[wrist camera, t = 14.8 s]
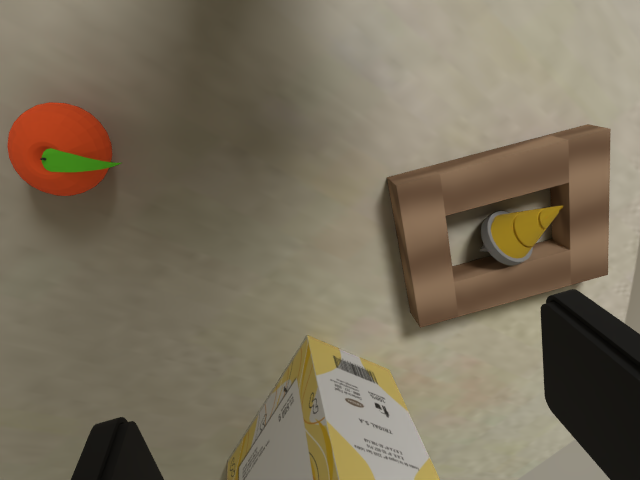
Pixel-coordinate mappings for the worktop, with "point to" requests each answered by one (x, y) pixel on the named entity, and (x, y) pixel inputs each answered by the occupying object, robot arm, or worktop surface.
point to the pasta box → (332, 424)
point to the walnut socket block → (493, 186)
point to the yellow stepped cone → (515, 233)
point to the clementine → (60, 149)
